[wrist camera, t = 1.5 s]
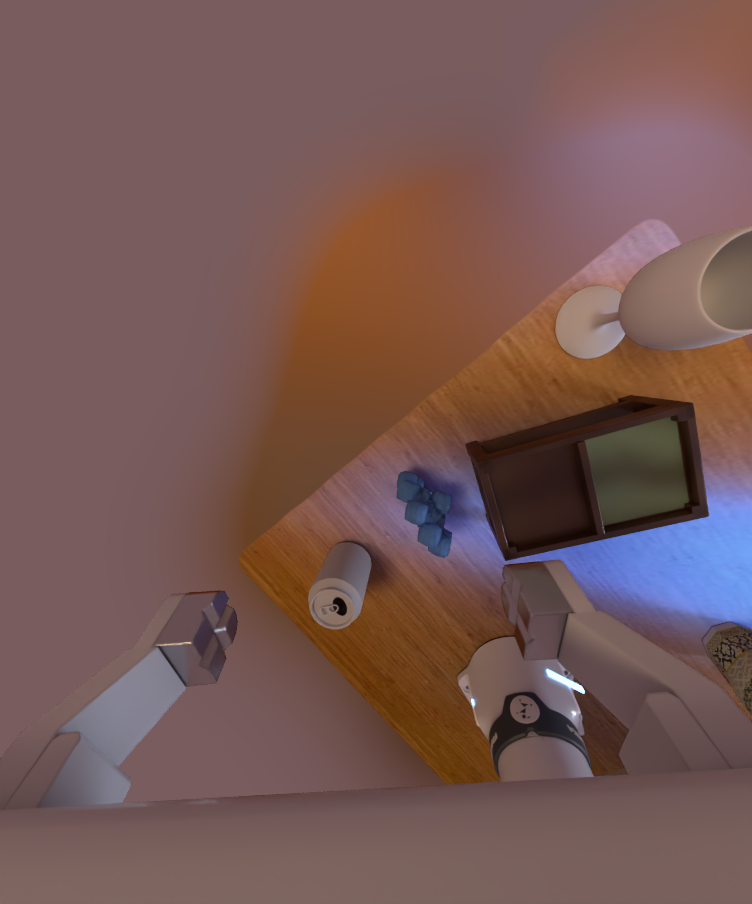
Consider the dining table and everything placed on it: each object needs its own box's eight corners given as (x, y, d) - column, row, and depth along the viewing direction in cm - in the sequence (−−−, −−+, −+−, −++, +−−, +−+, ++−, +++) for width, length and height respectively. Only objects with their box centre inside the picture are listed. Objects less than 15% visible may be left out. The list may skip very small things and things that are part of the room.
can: (377, 575, 55) (366, 631, 43) (335, 582, 56) (313, 638, 44) (365, 535, 53) (350, 582, 41) (322, 543, 54) (296, 590, 43)
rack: (647, 484, 46) (711, 517, 36) (488, 523, 50) (505, 562, 40) (631, 394, 43) (695, 402, 33) (465, 443, 47) (477, 463, 37)
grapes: (468, 512, 50) (483, 555, 38) (430, 533, 52) (433, 580, 40) (427, 449, 48) (429, 475, 37) (389, 473, 50) (380, 504, 38)
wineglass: (541, 340, 43) (651, 316, 23) (580, 273, 40) (742, 178, 20) (601, 370, 43) (764, 371, 23) (644, 304, 40) (869, 239, 20)
